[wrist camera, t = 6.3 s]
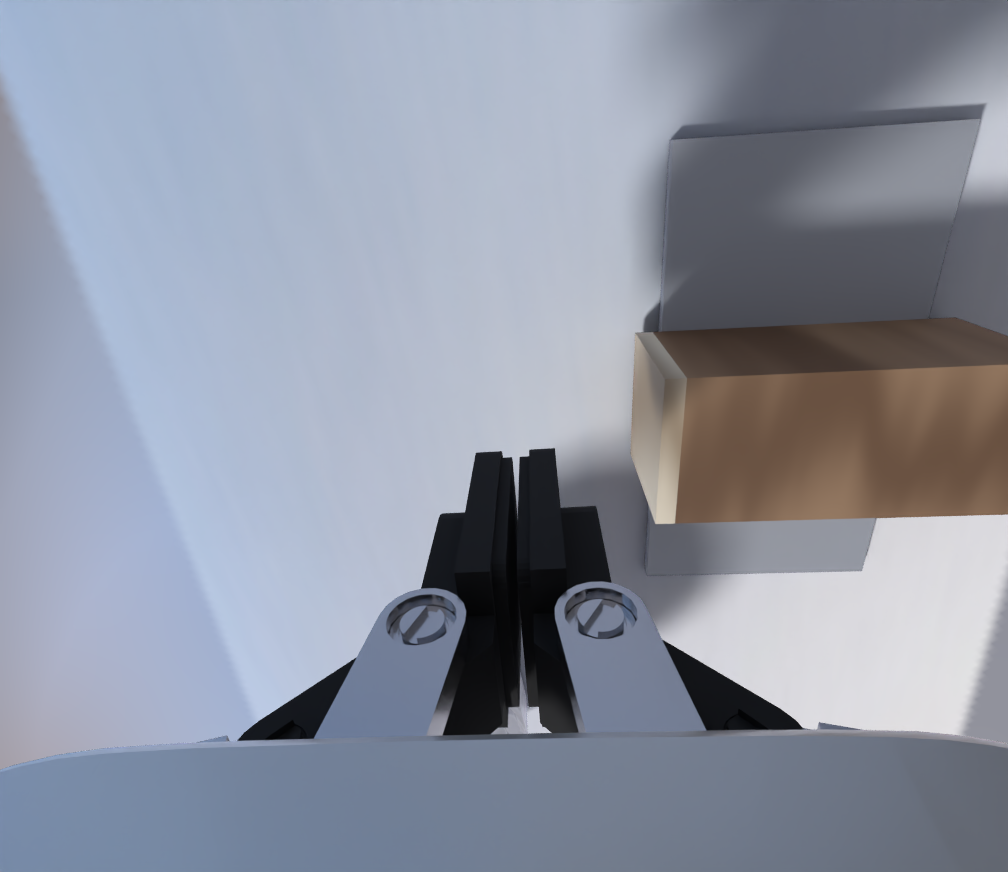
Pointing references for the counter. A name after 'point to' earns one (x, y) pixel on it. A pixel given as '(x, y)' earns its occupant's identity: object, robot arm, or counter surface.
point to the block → (822, 421)
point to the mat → (801, 280)
